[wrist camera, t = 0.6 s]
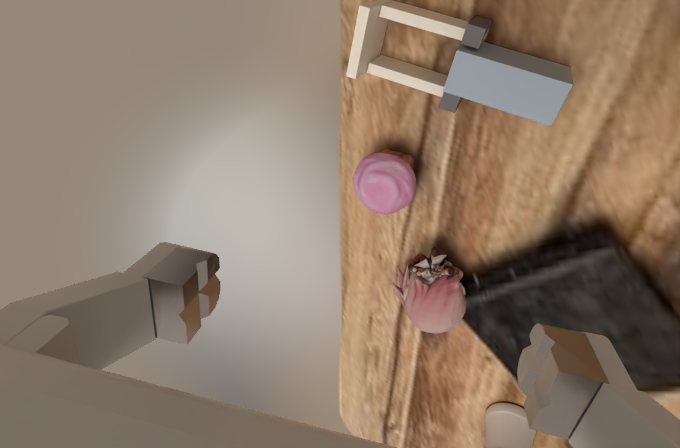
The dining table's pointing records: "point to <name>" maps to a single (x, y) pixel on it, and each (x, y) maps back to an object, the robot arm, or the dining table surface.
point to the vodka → (507, 427)
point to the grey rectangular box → (510, 81)
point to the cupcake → (385, 181)
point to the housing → (369, 59)
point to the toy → (432, 293)
